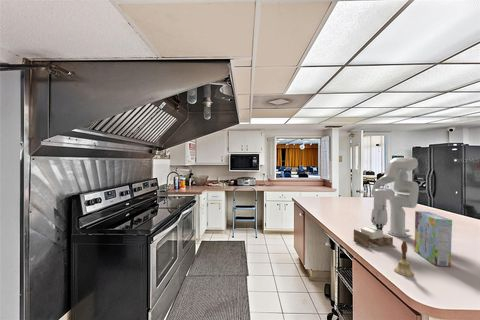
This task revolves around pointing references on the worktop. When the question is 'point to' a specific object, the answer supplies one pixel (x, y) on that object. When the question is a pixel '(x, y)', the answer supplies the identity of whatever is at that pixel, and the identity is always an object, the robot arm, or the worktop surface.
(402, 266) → the hand bell
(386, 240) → the podium
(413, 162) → the robot arm
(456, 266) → the worktop surface
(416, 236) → the snack box
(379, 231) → the carton
